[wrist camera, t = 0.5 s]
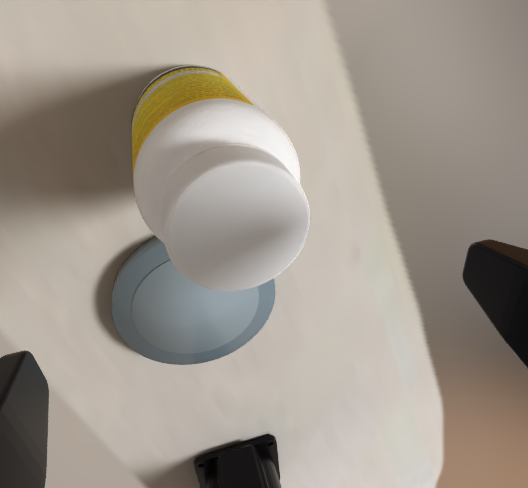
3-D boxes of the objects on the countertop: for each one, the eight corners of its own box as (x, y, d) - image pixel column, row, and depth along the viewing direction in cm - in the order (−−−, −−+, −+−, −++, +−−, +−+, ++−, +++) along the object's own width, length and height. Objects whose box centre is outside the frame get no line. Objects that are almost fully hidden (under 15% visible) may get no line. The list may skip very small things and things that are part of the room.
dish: (274, 331, 27) (279, 343, 26) (134, 368, 25) (135, 382, 24) (264, 211, 22) (270, 220, 21) (90, 246, 20) (88, 258, 19)
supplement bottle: (106, 140, 18) (89, 261, 10) (178, 34, 17) (224, 76, 9) (205, 202, 21) (253, 334, 13) (273, 115, 20) (374, 203, 12)
